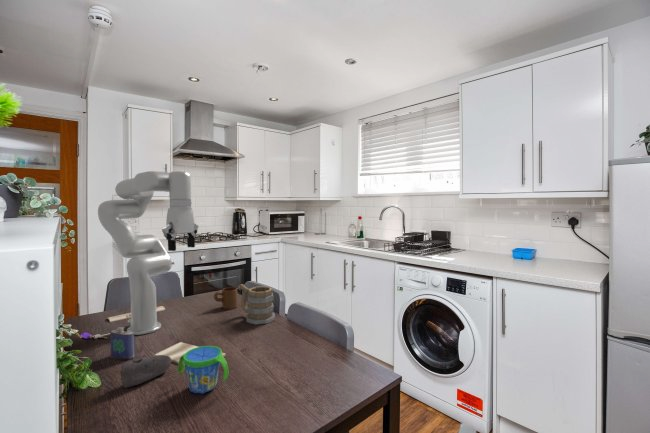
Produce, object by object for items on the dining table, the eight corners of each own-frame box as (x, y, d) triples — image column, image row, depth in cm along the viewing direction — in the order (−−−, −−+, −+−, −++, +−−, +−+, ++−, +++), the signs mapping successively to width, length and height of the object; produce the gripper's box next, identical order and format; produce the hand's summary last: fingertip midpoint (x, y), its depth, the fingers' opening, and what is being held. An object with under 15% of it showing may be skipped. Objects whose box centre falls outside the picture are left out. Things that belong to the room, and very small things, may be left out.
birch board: (154, 356, 114) (154, 354, 114) (180, 344, 124) (180, 342, 124) (201, 370, 105) (201, 367, 105) (225, 355, 115) (225, 353, 115)
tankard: (280, 317, 152) (279, 285, 152) (261, 326, 142) (260, 292, 141) (249, 310, 163) (248, 280, 163) (229, 317, 153) (229, 285, 152)
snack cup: (237, 383, 97) (236, 349, 97) (212, 403, 88) (212, 366, 87) (195, 373, 103) (195, 341, 103) (168, 391, 93) (167, 356, 93)
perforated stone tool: (168, 367, 107) (167, 346, 107) (175, 372, 104) (174, 351, 103) (116, 387, 96) (115, 363, 96) (122, 393, 92) (121, 369, 92)
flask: (136, 357, 114) (135, 326, 114) (129, 361, 111) (127, 330, 111) (115, 353, 117) (114, 324, 116) (107, 357, 114) (106, 327, 113)
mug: (217, 312, 160) (217, 293, 159) (211, 308, 165) (210, 290, 165) (240, 307, 168) (239, 289, 167) (233, 303, 173) (233, 286, 173)
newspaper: (161, 308, 168) (160, 305, 168) (166, 311, 163) (165, 308, 163) (107, 320, 152) (106, 316, 152) (110, 324, 147) (110, 320, 147)
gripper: (189, 204, 134) (190, 245, 135) (154, 204, 118) (155, 251, 119) (204, 204, 132) (205, 246, 132) (170, 204, 116) (172, 252, 116)
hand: (182, 248), depth 126 cm, fingers open, 9 cm apart
